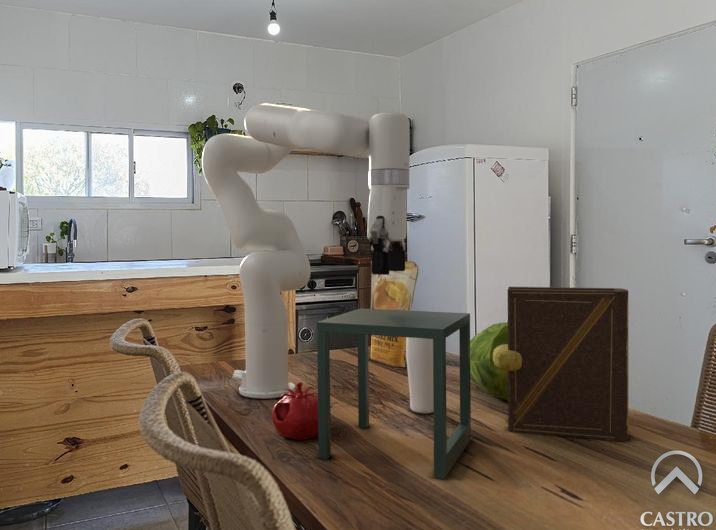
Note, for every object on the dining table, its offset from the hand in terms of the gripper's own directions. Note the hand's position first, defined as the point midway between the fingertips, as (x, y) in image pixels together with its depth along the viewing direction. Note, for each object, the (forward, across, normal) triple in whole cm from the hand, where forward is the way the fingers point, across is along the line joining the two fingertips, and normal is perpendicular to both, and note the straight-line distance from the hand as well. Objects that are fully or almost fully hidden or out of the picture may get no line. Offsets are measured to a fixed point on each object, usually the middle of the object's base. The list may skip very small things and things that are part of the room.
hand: (389, 272), depth 112 cm
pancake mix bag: (+28, -48, -15) cm, 58 cm away
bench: (+28, +14, +6) cm, 32 cm away
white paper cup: (+28, -8, +5) cm, 29 cm away
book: (+28, -5, +30) cm, 41 cm away
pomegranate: (+28, +14, -12) cm, 33 cm away
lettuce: (+28, -26, +17) cm, 42 cm away
